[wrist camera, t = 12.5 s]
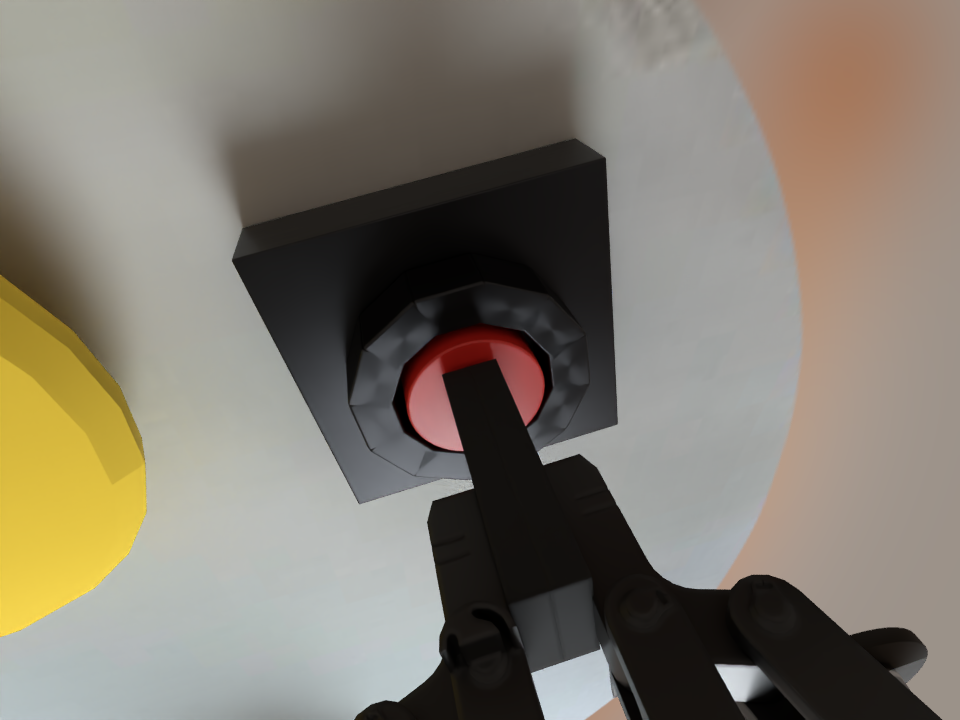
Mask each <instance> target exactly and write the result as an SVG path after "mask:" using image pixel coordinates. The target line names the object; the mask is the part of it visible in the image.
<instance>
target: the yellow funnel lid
mask: <svg viewBox="0 0 960 720" xmlns="http://www.w3.org/2000/svg"><path fill="white" fill-rule="evenodd" d="M146 512H147V510H146V471H145V458H144V451H143V444H142V437H141V435H140V433H139V430H138V428H137V426H136V423H135V421H134V419H133V417H132V414H131V412H130V410H129V407H128V405H127V403H126V400H125V398H124V396H123V393H122V391H121V389H120V386H119V385H118V384H117V383H116V381H115V380H114V379H113V378H112V377H111V376H110V374H109V373H108V372H107V371H106V370H105V368H104V367H103V366H102V365H101V364H100V362H99V361H98V360H97V359H96V358H95V356H94V355H93V354H92V353H91V352H90V350H89V349H88V348H87V347H86V346H85V344H84V343H83V342H82V341H81V340H80V339H79V337H78V336H77V335H76V334H75V333H74V331H73V330H72V329H70V328H69V327H68V326H66V325H65V324H64V323H63V322H61V321H60V320H59V319H57V318H56V317H55V316H53V315H52V314H51V313H50V312H48V311H47V310H46V309H44V308H43V307H42V306H40V305H39V304H38V303H37V302H35V301H34V300H33V299H31V298H30V297H29V296H27V295H26V294H25V293H24V292H22V291H21V290H20V289H18V288H17V287H16V286H14V285H13V284H12V283H10V282H9V281H8V280H7V279H5V278H4V277H3V276H1V275H0V637H2V636H5V635H8V634H11V633H14V632H17V631H20V630H22V629H23V628H25V627H27V626H29V625H31V624H32V623H34V622H36V621H38V620H39V619H41V618H43V617H45V616H46V615H48V614H50V613H52V612H53V611H55V610H57V609H59V608H60V607H62V606H64V605H66V604H68V603H69V602H71V601H73V600H75V599H76V598H78V597H80V596H82V595H83V594H85V593H87V592H89V591H90V590H92V589H94V588H95V587H96V586H97V585H98V584H99V583H100V582H101V581H102V580H103V579H104V578H105V577H106V576H107V575H108V574H109V573H110V572H111V571H112V570H113V569H114V568H115V567H116V566H117V565H118V564H119V563H120V562H121V561H122V560H123V559H124V558H125V557H126V556H127V555H128V554H129V552H130V549H131V547H132V545H133V542H134V540H135V538H136V535H137V533H138V531H139V528H140V526H141V524H142V522H143V519H144V517H145V515H146Z"/></svg>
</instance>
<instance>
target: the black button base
mask: <svg viewBox="0 0 960 720" xmlns="http://www.w3.org/2000/svg"><path fill="white" fill-rule="evenodd" d="M232 262H233V264H234V266H235V268H236V270H237V272H238V274H239V275H240V277H241V279H242V281H243V283H244V285H245V287H246V289H247V291H248V293H249V295H250V296H251V298H252V300H253V302H254V304H255V306H256V308H257V310H258V312H259V314H260V316H261V317H262V319H263V321H264V323H265V325H266V327H267V329H268V331H269V333H270V335H271V337H272V338H273V340H274V342H275V344H276V346H277V348H278V350H279V352H280V354H281V356H282V358H283V360H284V361H285V363H286V365H287V367H288V369H289V371H290V373H291V375H292V377H293V379H294V381H295V382H296V384H297V386H298V388H299V390H300V392H301V394H302V396H303V398H304V400H305V402H306V403H307V405H308V407H309V409H310V411H311V413H312V415H313V417H314V419H315V421H316V423H317V424H318V426H319V428H320V430H321V432H322V434H323V436H324V438H325V440H326V442H327V444H328V445H329V447H330V449H331V451H332V453H333V455H334V457H335V459H336V461H337V463H338V465H339V466H340V468H341V470H342V472H343V474H344V476H345V478H346V480H347V482H348V484H349V486H350V488H351V489H352V491H353V493H354V495H355V497H356V499H357V501H358V503H359V504H362V503H365V502H368V501H372V500H375V499H378V498H381V497H384V496H388V495H391V494H394V493H397V492H401V491H404V490H407V489H410V488H413V487H417V486H420V485H423V484H426V483H430V482H433V481H436V480H439V479H443V478H444V479H459V480H468V479H469V480H471V479H472V478H471V475H470V471H469V468H468V464H467V461H466V458H465V454H464V451H454V450H448V449H444V448H441V447H438V446H435V445H433V444H431V443H430V442H428V441H427V440H425V439H424V438H423V437H421V436H420V435H419V434H418V433H417V432H416V430H415V429H414V427H413V426H412V424H411V422H410V420H409V417H408V414H407V409H406V403H405V398H404V392H403V387H402V381H401V374H402V371H403V368H404V365H405V364H406V363H407V362H408V361H409V360H410V359H411V358H412V357H414V356H415V355H416V354H417V353H418V352H419V351H420V350H421V349H422V348H424V347H425V346H426V345H427V344H428V343H429V342H430V341H431V340H432V339H434V338H435V337H436V336H438V335H442V334H445V333H449V332H452V331H456V330H459V329H463V328H466V327H469V326H473V325H476V324H480V323H482V324H487V325H493V326H498V327H504V328H509V329H515V330H520V331H521V332H522V334H523V335H524V337H525V339H526V341H527V343H528V344H529V346H530V348H531V350H532V352H533V354H534V355H535V357H536V359H537V361H538V363H539V365H540V367H541V369H542V371H543V375H544V382H545V388H544V395H543V399H542V402H541V405H540V407H539V409H538V411H537V413H536V414H535V416H534V417H533V418H532V420H531V421H530V422H529V423H528V424H527V425H526V428H527V430H528V433H529V435H530V437H531V440H532V442H533V444H534V446H535V449H536V451H537V452H538V451H539V450H540V449H542V448H543V447H546V446H549V445H552V444H555V443H559V442H562V441H565V440H568V439H572V438H575V437H578V436H581V435H585V434H588V433H591V432H594V431H597V430H601V429H604V428H607V427H610V426H614V425H617V424H618V418H617V396H616V374H615V352H614V329H613V307H612V285H611V263H610V240H609V218H608V196H607V174H606V158H605V157H603V156H602V155H600V154H599V153H597V152H596V151H594V150H593V149H591V148H590V147H588V146H587V145H585V144H584V143H582V142H580V141H579V140H577V139H571V140H568V141H564V142H560V143H556V144H553V145H549V146H545V147H542V148H538V149H534V150H530V151H527V152H523V153H519V154H516V155H512V156H508V157H504V158H501V159H497V160H493V161H490V162H486V163H482V164H479V165H475V166H471V167H467V168H464V169H460V170H456V171H453V172H449V173H445V174H441V175H438V176H434V177H430V178H427V179H423V180H419V181H415V182H412V183H408V184H404V185H401V186H397V187H393V188H389V189H386V190H382V191H378V192H375V193H371V194H367V195H364V196H360V197H356V198H352V199H349V200H345V201H341V202H338V203H334V204H330V205H326V206H323V207H319V208H315V209H312V210H308V211H304V212H300V213H297V214H293V215H289V216H286V217H282V218H278V219H275V220H271V221H267V222H263V223H260V224H256V225H252V226H249V227H245V228H243V229H242V232H241V234H240V237H239V240H238V243H237V246H236V249H235V252H234V255H233V258H232Z"/></svg>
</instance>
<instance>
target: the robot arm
mask: <svg viewBox="0 0 960 720" xmlns="http://www.w3.org/2000/svg"><path fill="white" fill-rule="evenodd" d="M442 377H443V381H444V384H445V388H446V391H447V395H448V398H449V402H450V405H451V409H452V412H453V416H454V419H455V423H456V426H457V430H458V433H459V437H460V440H461V444H462V447H463V451H464V454H465V458H466V461H467V464H468V468H469V471H470V475H471V478H472V482H473V485H474V488H473V489H470V490H467V491H464V492H461V493H457V494H454V495H451V496H448V497H445V498H441V499H438V500H435V501H433V502H432V506H431V510H430V513H429V517H428V521H427V524H428V530H429V535H430V541H431V545H432V552H433V557H434V562H435V568H436V573H437V579H438V584H439V590H440V595H441V601H442V606H443V612H444V617H445V624H444V626H443V629H442V631H441V634H440V638H439V653H440V655H441V656H442V660H441V663H440V664H439V666H438V667H437V669H436V670H435V672H434V673H433V674H432V675H431V676H430V677H429V678H428V679H427V680H426V681H425V682H424V683H423V684H421V685H420V686H419V687H417V688H416V689H415V690H414V691H412V692H411V693H410V694H408V695H407V696H406V697H405V698H403V699H402V700H401V701H399V702H393V701H387V700H385V701H382V702H378V703H375V704H371V705H370V706H369V707H367V708H366V709H365V710H363V711H362V712H361V713H359V714H358V715H357V716H356V718H355V719H354V720H545V719H544V715H543V712H542V709H541V705H540V702H539V699H538V695H537V692H536V688H535V685H534V682H533V678H532V675H531V673H532V672H535V671H538V670H541V669H544V668H547V667H550V666H553V665H556V664H559V663H562V662H565V661H567V660H570V659H573V658H576V657H579V656H582V655H585V654H588V653H591V652H594V651H597V650H600V645H601V647H602V650H603V652H604V654H605V657H606V659H607V662H608V664H609V671H610V682H611V688H612V693H613V698H615V697H618V698H619V701H620V703H621V706H622V708H623V711H624V713H625V716H626V718H627V720H745V718H746V719H747V720H942V719H941V718H940V717H939V716H938V715H937V714H935V713H934V712H933V711H932V710H931V709H930V708H929V707H928V706H927V705H925V704H924V703H923V702H922V701H921V700H920V699H919V698H918V697H917V696H916V695H914V694H913V693H912V692H911V691H910V689H909V688H908V686H907V685H906V683H905V682H904V680H903V678H902V677H901V676H900V675H899V674H898V672H897V671H896V670H895V669H894V667H893V666H892V665H890V664H886V663H879V662H878V661H877V660H876V659H875V658H874V657H873V656H871V655H870V654H869V653H868V652H867V651H866V650H865V649H864V648H863V647H861V646H860V645H859V644H858V643H857V642H856V641H855V640H854V639H853V638H852V637H850V636H849V635H848V634H847V633H846V632H845V631H844V630H843V629H842V628H841V627H839V626H838V625H837V624H836V623H835V622H834V621H833V620H831V618H829V617H828V616H827V615H826V614H825V613H824V612H823V611H822V610H821V609H820V608H818V607H817V606H816V605H815V604H814V603H813V602H812V601H811V600H810V599H809V598H807V597H806V596H805V595H804V594H803V593H802V592H801V591H799V590H798V589H797V588H795V587H794V586H792V585H791V584H789V583H788V582H786V581H785V580H782V579H779V578H776V577H773V576H770V575H751V576H748V577H745V578H743V579H740V580H739V581H738V582H737V583H736V584H735V586H734V587H733V588H732V589H731V590H716V589H692V588H685V587H682V586H679V585H676V584H673V583H671V582H670V581H668V580H666V579H665V578H663V577H662V576H661V575H660V574H658V573H657V572H656V571H655V570H654V569H653V567H652V566H651V565H650V563H649V562H648V560H647V558H646V557H645V555H644V553H643V551H642V549H641V547H640V546H639V544H638V542H637V540H636V538H635V536H634V535H633V533H632V531H631V529H630V527H629V525H628V524H627V522H626V520H625V518H624V516H623V514H622V513H621V511H620V509H619V507H618V505H616V502H615V500H614V498H613V496H612V494H611V493H610V491H609V490H608V488H607V485H606V483H605V482H604V480H603V478H602V476H601V474H600V472H599V471H598V469H597V467H595V466H594V465H593V464H592V463H590V462H589V461H588V460H586V459H585V458H584V457H583V456H581V455H580V454H578V455H575V456H572V457H568V458H565V459H562V460H559V461H556V462H552V463H549V464H546V465H542V462H541V460H540V458H539V455H538V453H537V451H536V449H535V446H534V444H533V442H532V440H531V437H530V435H529V433H528V430H527V428H526V426H525V424H524V421H523V419H522V417H521V415H520V412H519V410H518V408H517V405H516V403H515V401H514V399H513V396H512V394H511V392H510V390H509V387H508V385H507V383H506V380H505V378H504V376H503V374H502V371H501V369H500V367H499V365H498V362H497V360H496V359H492V360H489V361H485V362H482V363H479V364H475V365H472V366H469V367H465V368H462V369H459V370H455V371H452V372H448V373H445V374H442ZM599 642H600V643H599ZM742 714H743V715H742ZM744 717H745V718H744Z"/></svg>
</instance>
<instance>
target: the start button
mask: <svg viewBox="0 0 960 720" xmlns="http://www.w3.org/2000/svg"><path fill="white" fill-rule="evenodd" d="M492 359H496V360H497V362H498V365H499V367H500V369H501V371H502V374H503V376H504V378H505V380H506V383H507V385H508V387H509V390H510V392H511V394H512V396H513V399H514V401H515V403H516V405H517V408H518V410H519V412H520V415H521V417H522V419H523V421H524V424H525V426H526V425H527V424H528V423H529V422H530V421H531V420H532V418H533V417H534V416H535V414H536V413H537V411H538V409H539V407H540V405H541V402H542V399H543V395H544V388H545V382H544V375H543V371H542V369H541V367H540V365H539V363H538V361H537V359H536V357H535V355H534V354H533V352H532V350H531V348H530V346H529V344H528V343H527V341H526V339H525V337H524V335H523V334H522V332H521V331H520V330H515V329H509V328H504V327H498V326H493V325H487V324H482V323H480V324H476V325H473V326H469V327H466V328H463V329H459V330H456V331H452V332H449V333H445V334H442V335H438V336H436V337H435V338H434V339H432V340H431V341H430V342H429V343H428V344H427V345H426V346H425V347H424V348H422V349H421V350H420V351H419V352H418V353H417V354H416V355H415V356H414V357H412V358H411V359H410V360H409V361H408V362H407V363H406V364H405V365H404V368H403V371H402V374H401V381H402V387H403V392H404V398H405V403H406V409H407V414H408V417H409V420H410V422H411V424H412V426H413V427H414V429H415V430H416V432H417V433H418V434H419V435H420V436H421V437H423V438H424V439H425V440H427V441H428V442H430V443H431V444H433V445H435V446H438V447H441V448H444V449H448V450H454V451H463V447H462V444H461V440H460V437H459V433H458V430H457V426H456V423H455V419H454V416H453V412H452V409H451V405H450V402H449V398H448V395H447V391H446V388H445V384H444V381H443V377H442V374H445V373H448V372H452V371H455V370H459V369H462V368H465V367H469V366H472V365H475V364H479V363H482V362H485V361H489V360H492Z"/></svg>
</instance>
